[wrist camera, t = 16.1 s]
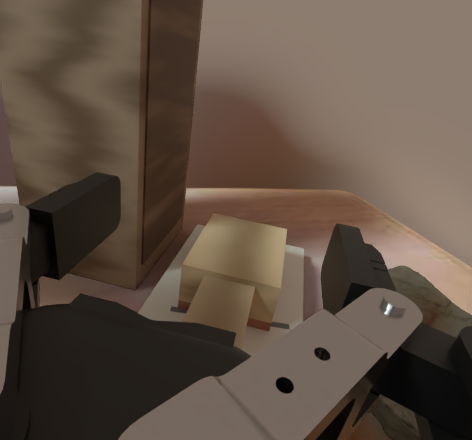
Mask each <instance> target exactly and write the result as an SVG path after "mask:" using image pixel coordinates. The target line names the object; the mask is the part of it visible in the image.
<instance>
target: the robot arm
mask: <svg viewBox="0 0 472 440" xmlns="http://www.w3.org/2000/svg"><path fill="white" fill-rule="evenodd" d="M120 218H121V183H120V179H119V177H118V176H114V175H109V174H105V173H100V172H96V173H94V174H92V175H90V176H88V177H86V178H84V179H83V180H81V181H79V182H77V183H72V184H68V185H66V186H64V187H62V188H60V189H58V190H57V191H54V192H52V193H50V194H49V195H48V196H47V195H46V196H44V197H42V198H40V199H38V200H36V201H35V202H33V203H31V204H29V205H27V206H25V207H24V206H21V205H16V204H0V440H347V439H348V438H349V437H350V435H351V434H352V433H353V432H354V431H355V429H356V428H357V427H358V426H359V424H360V423H361V422H362V421H363V419H364V418H365V417H366V416H367V414H368V413H369V412H370V411H371V409H372V408H373V407H374V406H375V404H376V403H377V402H378V401H379V399H380V398H381V397H382V395H383V396H385V397H387V398H389V399H390V400H392V401H394V402H396V403H398V404H400V405H402V406H404V407H405V408H407V409H409V410H411V411H413V412H414V413H415V418H416V422H417V425H418V429H419V433H420V437H421V440H472V326H467V327H464V328H462V330H461V331H460V333H459V334H458V336H457V338H456V337H453V336H451V335H449V334H446V333H444V332H442V331H440V330H437V329H435V328H433V327H431V326H428V325H427V324H425V323H423V322H422V320H423V315H422V313H421V311H420V309H419V308H418V307H417V305H416V304H415V303H413V302H412V301H411V300H410V299H408V298H407V297H405V296H403V295H401V294H400V293H397V291H396V288H395V286H394V284H393V281H392V279H391V276H390V274H389V272H388V269H387V267H386V265H385V262H384V260H383V257H382V255H381V253H380V252H379V251H378V250H377V249H376V248H374V247H373V246H372V245H370V244H366V243H364V241H363V238H362V235H361V232H360V229H359V228H357V227H352V226H347V225H342V224H338V223H337V224H336V225H335V227H334V230H333V233H332V236H331V239H330V242H329V245H328V248H327V252H326V255H325V258H324V261H323V265H322V270H321V287H322V298H323V309H322V310H320V311H318V312H317V313H315V314H314V315H312V316H311V317H309V318H308V319H306V320H305V321H303V322H302V323H300V324H299V325H297V326H296V327H295V328H293V329H292V330H290V331H289V332H287V333H286V334H284V335H283V336H281V337H280V338H278V339H277V340H275V341H274V342H272V343H271V344H269V345H268V346H266V347H265V348H263V349H262V350H260V351H259V352H258V353H256V354H255V355H253V356H250V355H249V354H248V353H246V352H244V351H243V350H241V349H240V348H238V347H236V346H234V342H235V337H236V332H232V331H228V330H224V329H220V328H216V327H212V326H208V325H204V324H200V323H192V322H174V321H156V320H151V319H148V318H146V317H144V316H142V315H140V314H138V313H136V312H134V311H132V310H131V309H129V308H127V307H125V306H123V305H121V304H119V303H116V302H112V301H108V300H104V299H100V298H96V297H92V296H88V295H84V294H79V295H78V296H77V297H76V298H75V299H74V300H73V302H72V303H71V304H56V305H47V306H41V307H40V285H39V278H40V277H41V276H45V277H49V278H53V279H57V280H60V279H61V278H62V277H63V276H65V275H66V274H67V273H68V272H69V271H70V270H71V269H72V268H74V267H75V266H76V265H77V264H78V263H79V262H80V261H81V260H83V259H84V258H85V257H86V256H87V255H88V254H89V253H90V252H92V251H93V250H94V249H95V248H96V247H97V246H98V245H99V244H101V243H102V242H103V241H104V240H105V239H106V238H107V237H108V236H110V235H111V234H112V233H113V232H114V231H115V230H116V229H117V227H118V225H119V222H120Z"/></svg>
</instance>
